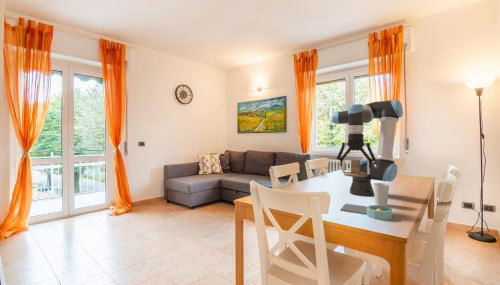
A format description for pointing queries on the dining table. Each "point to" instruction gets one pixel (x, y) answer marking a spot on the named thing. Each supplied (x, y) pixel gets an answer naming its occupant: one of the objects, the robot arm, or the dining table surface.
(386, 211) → the bowl
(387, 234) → the dining table surface
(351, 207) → the mat
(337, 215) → the dining table surface
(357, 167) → the lid
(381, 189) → the cup
